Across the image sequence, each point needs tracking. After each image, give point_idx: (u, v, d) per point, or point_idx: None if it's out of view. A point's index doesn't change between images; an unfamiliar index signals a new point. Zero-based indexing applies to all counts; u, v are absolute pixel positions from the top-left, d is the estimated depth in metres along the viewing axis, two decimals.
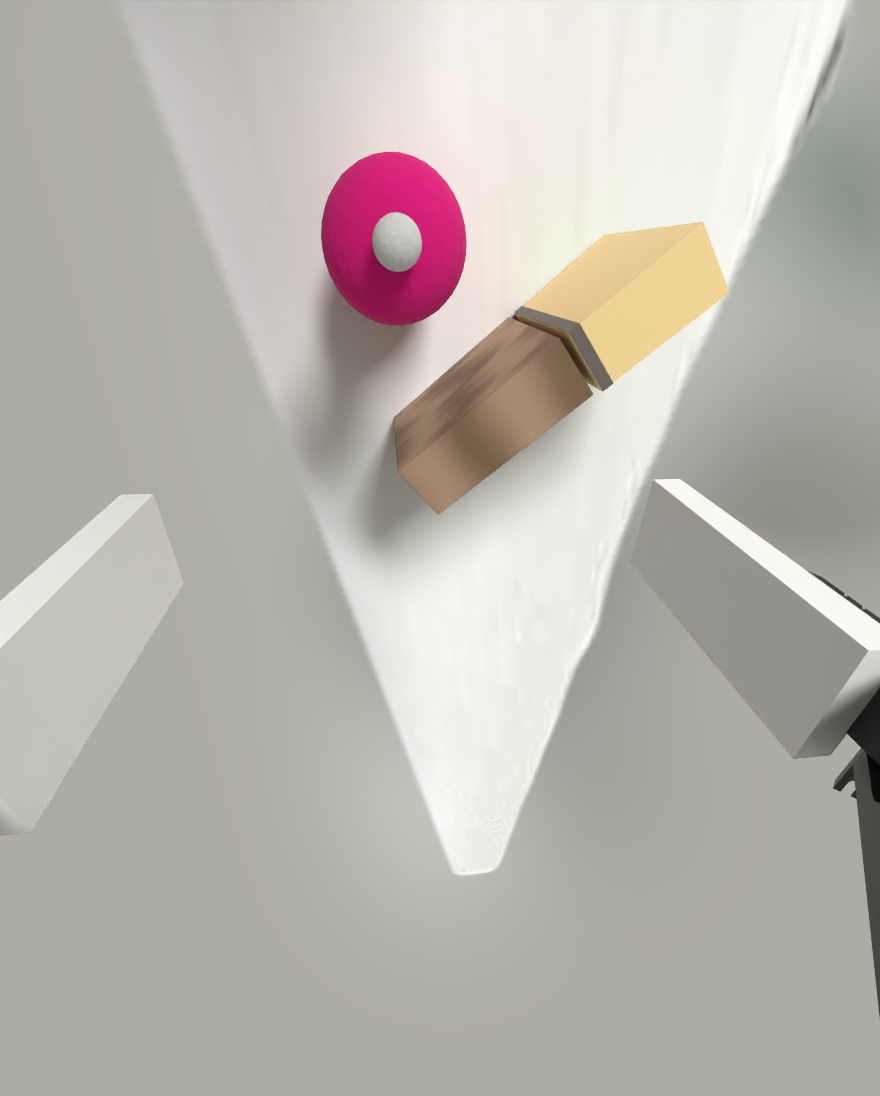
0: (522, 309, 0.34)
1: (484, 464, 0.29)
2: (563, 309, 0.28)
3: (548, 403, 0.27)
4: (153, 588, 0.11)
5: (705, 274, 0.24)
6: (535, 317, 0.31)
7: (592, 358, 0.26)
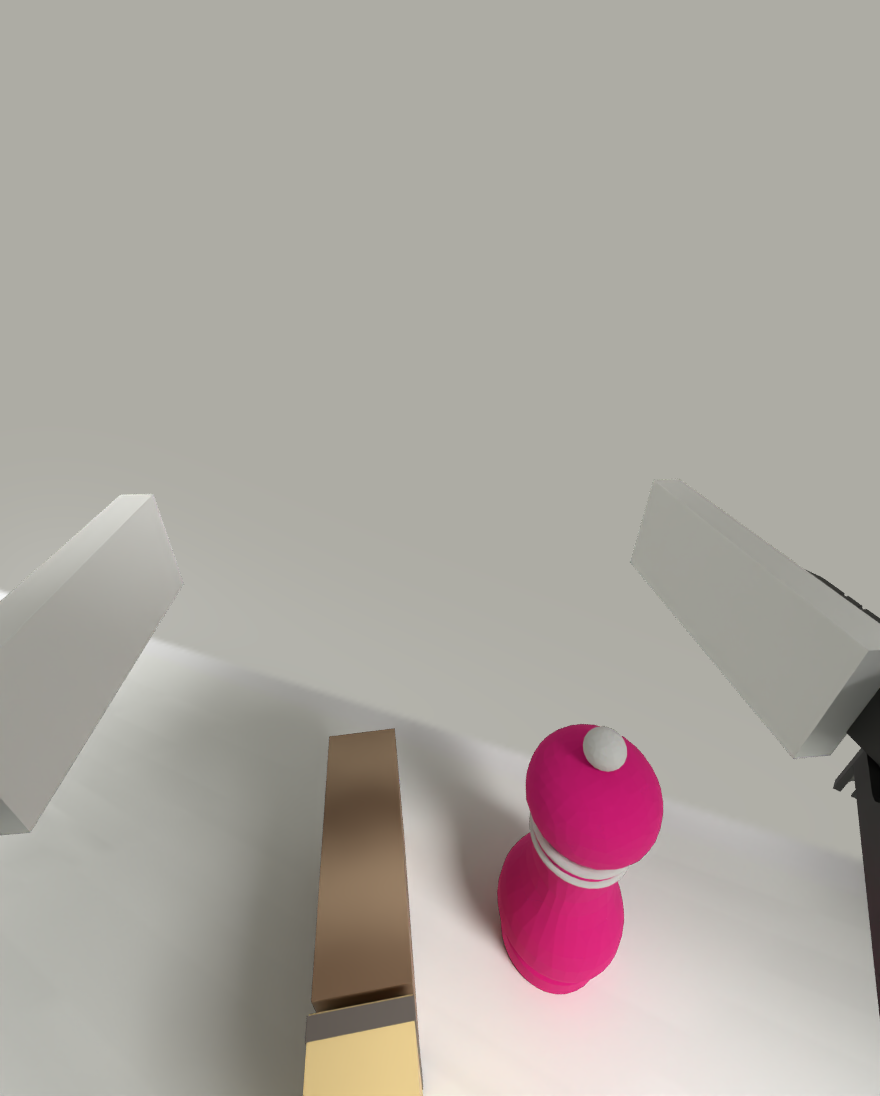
0: None
1: (339, 806, 0.24)
2: (419, 1071, 0.19)
3: (347, 922, 0.20)
4: (153, 588, 0.11)
5: None
6: (419, 1049, 0.21)
7: (361, 1019, 0.17)
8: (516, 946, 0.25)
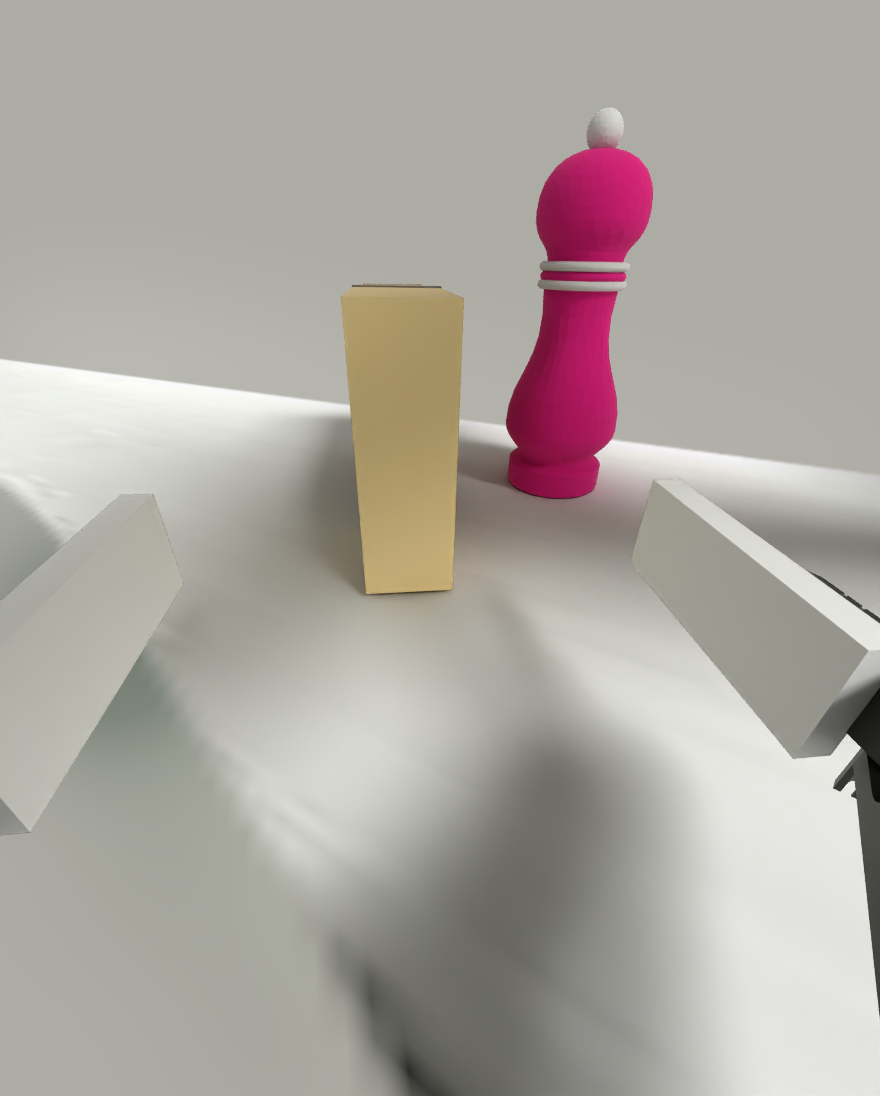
0: None
1: None
2: None
3: None
4: (153, 588, 0.11)
5: (393, 295, 0.15)
6: None
7: None
8: (522, 427, 0.29)
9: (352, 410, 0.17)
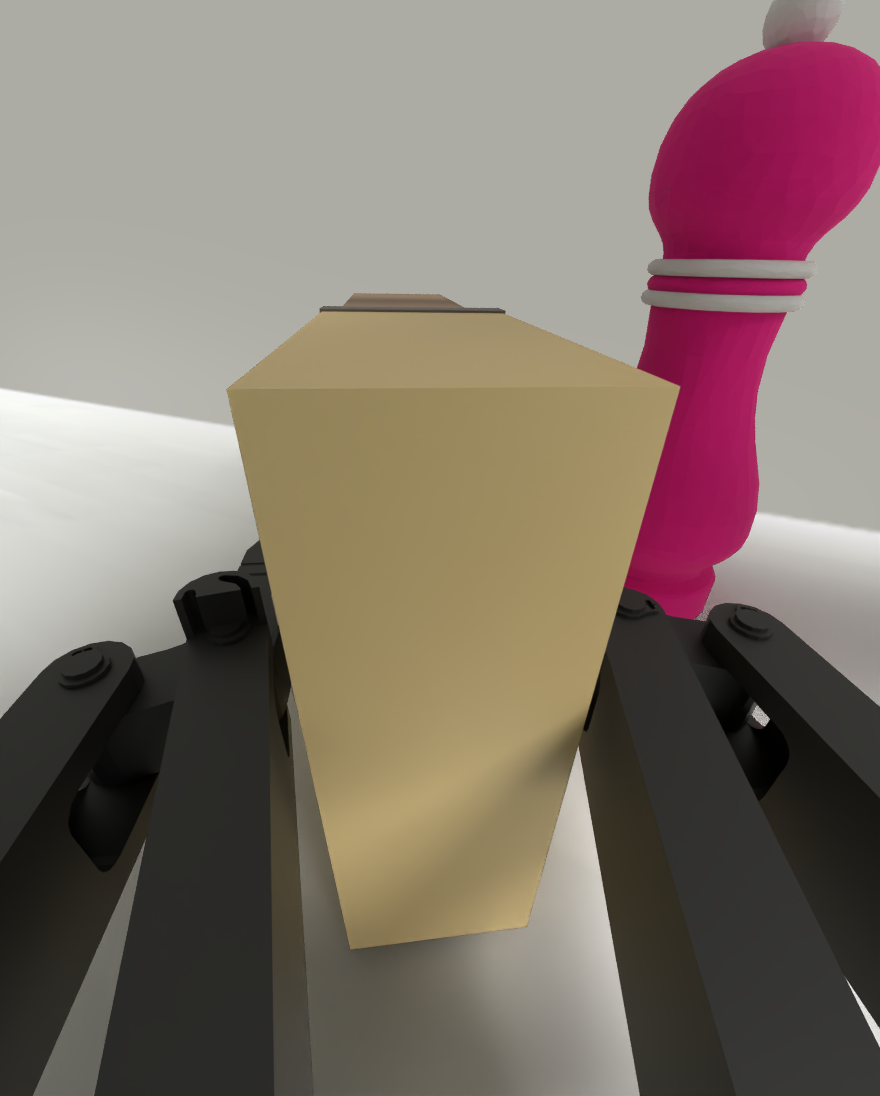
0: None
1: (368, 300, 0.18)
2: None
3: None
4: None
5: (423, 371, 0.05)
6: None
7: (413, 308, 0.10)
8: None
9: (298, 690, 0.06)
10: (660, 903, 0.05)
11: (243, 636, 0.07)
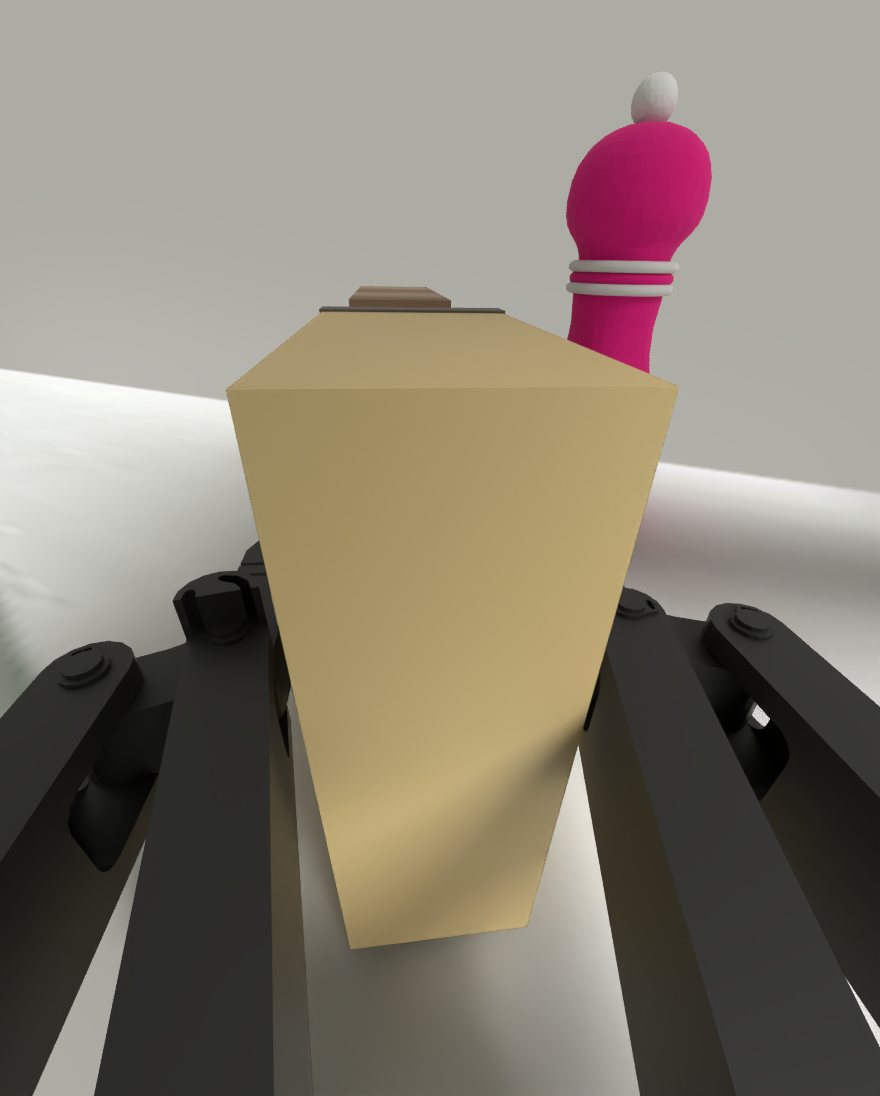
0: None
1: (372, 289, 0.24)
2: None
3: (384, 296, 0.20)
4: None
5: (422, 371, 0.05)
6: None
7: (412, 308, 0.10)
8: None
9: (298, 690, 0.06)
10: (658, 902, 0.05)
11: (243, 636, 0.07)
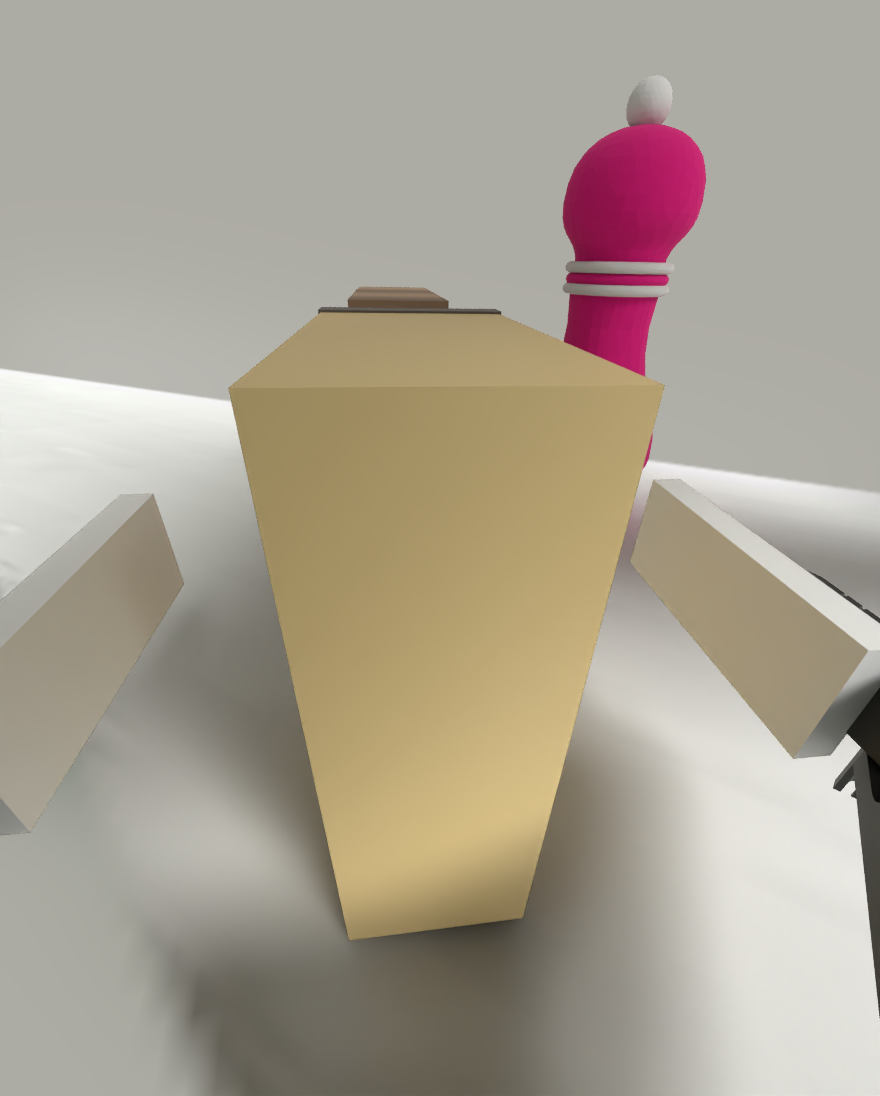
0: None
1: (370, 290, 0.24)
2: None
3: (382, 296, 0.20)
4: (153, 588, 0.11)
5: (418, 370, 0.05)
6: None
7: (410, 309, 0.11)
8: None
9: (297, 681, 0.06)
10: None
11: None
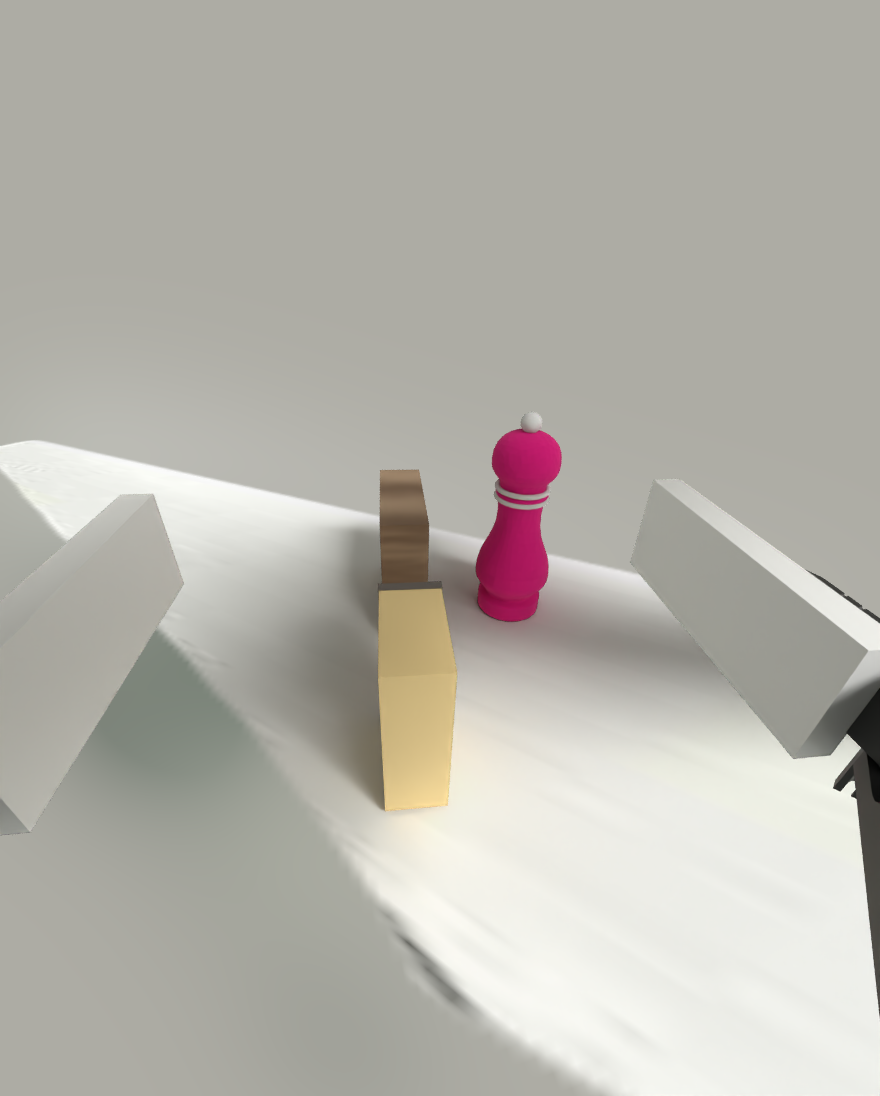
0: None
1: (388, 487, 0.43)
2: None
3: (395, 512, 0.39)
4: (153, 588, 0.11)
5: (411, 664, 0.24)
6: None
7: (410, 586, 0.29)
8: (484, 578, 0.44)
9: (381, 725, 0.25)
10: None
11: None
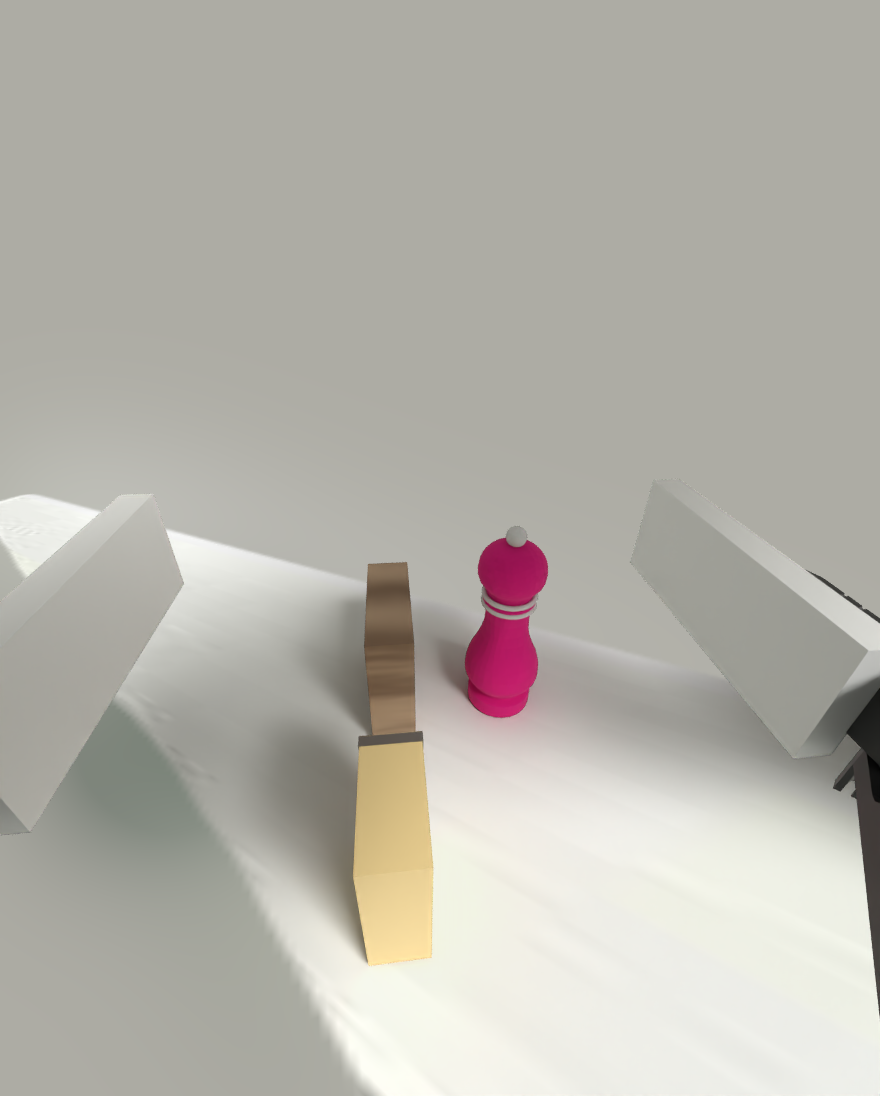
0: None
1: (375, 589, 0.43)
2: None
3: (381, 626, 0.39)
4: (153, 588, 0.11)
5: (387, 856, 0.24)
6: None
7: (390, 738, 0.29)
8: (473, 678, 0.44)
9: (359, 908, 0.25)
10: None
11: None
